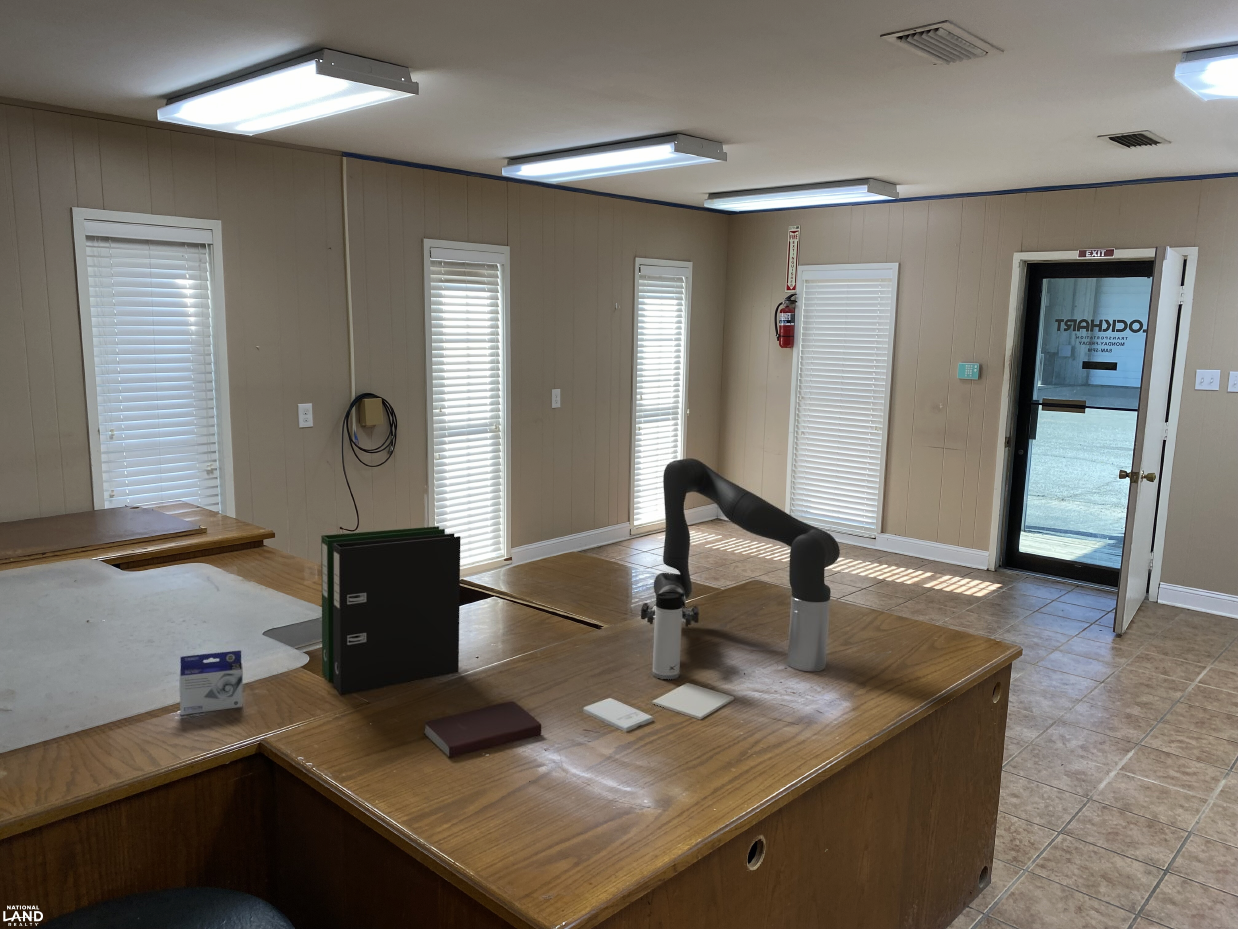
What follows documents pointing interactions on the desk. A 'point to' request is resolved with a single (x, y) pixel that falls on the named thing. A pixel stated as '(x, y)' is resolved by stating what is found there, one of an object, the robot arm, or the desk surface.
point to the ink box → (210, 682)
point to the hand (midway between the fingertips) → (669, 621)
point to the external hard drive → (617, 714)
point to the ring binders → (389, 607)
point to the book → (482, 728)
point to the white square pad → (693, 700)
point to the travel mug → (667, 635)
